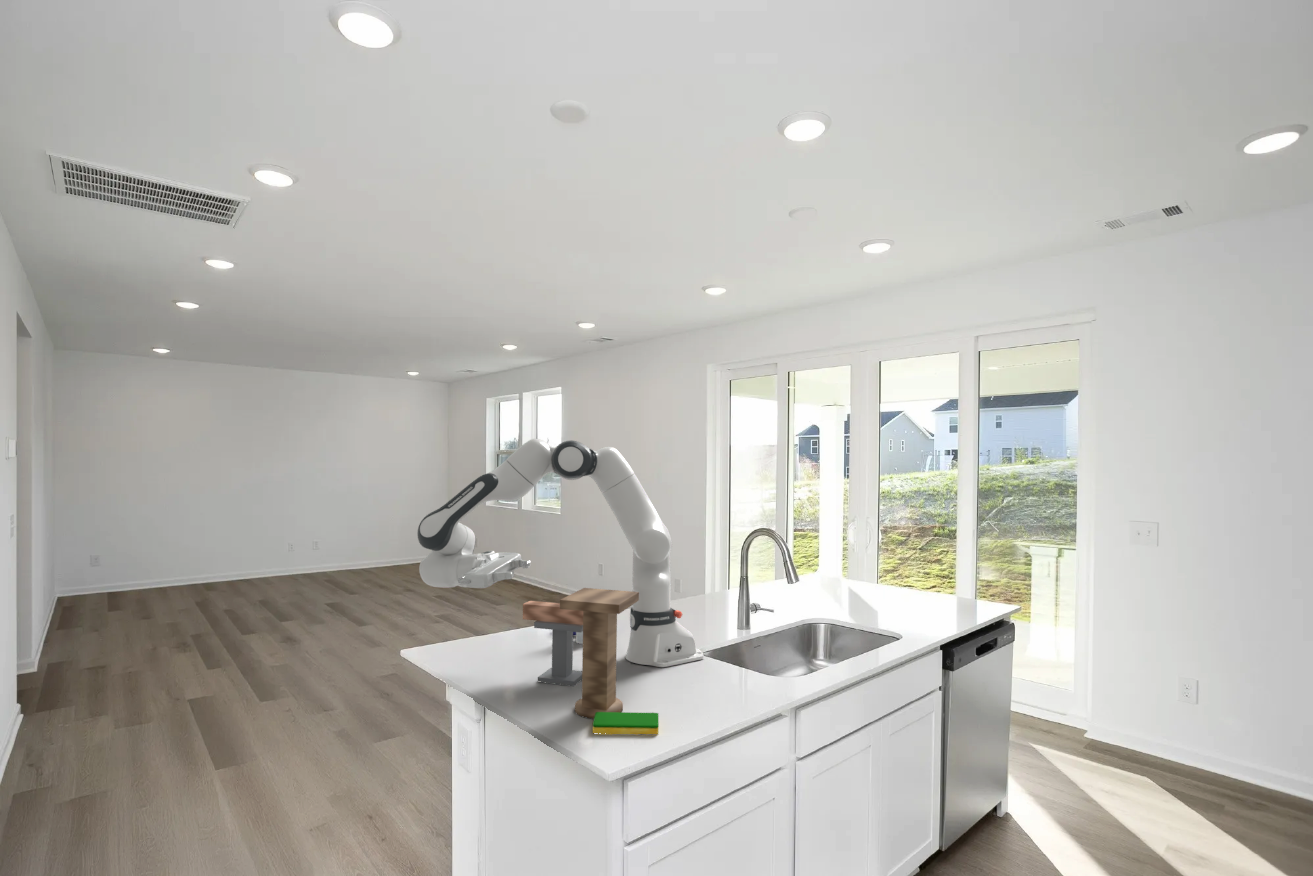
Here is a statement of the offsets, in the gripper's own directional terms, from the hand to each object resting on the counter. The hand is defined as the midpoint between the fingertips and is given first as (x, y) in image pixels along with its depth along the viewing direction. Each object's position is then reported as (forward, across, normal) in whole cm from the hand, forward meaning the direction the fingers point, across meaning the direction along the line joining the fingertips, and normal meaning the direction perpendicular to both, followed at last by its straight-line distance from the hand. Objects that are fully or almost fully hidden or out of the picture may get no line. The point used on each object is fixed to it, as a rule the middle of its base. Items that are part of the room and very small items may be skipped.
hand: (521, 569), depth 179 cm
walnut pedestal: (+26, -20, +28) cm, 43 cm away
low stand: (+10, -4, +28) cm, 30 cm away
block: (+10, -2, +13) cm, 17 cm away
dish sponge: (+36, -28, +28) cm, 53 cm away
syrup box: (+3, +29, +32) cm, 44 cm away
